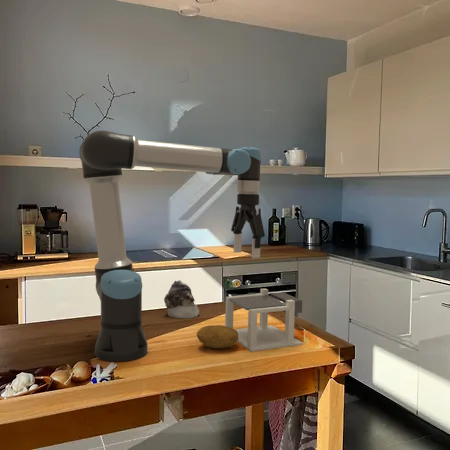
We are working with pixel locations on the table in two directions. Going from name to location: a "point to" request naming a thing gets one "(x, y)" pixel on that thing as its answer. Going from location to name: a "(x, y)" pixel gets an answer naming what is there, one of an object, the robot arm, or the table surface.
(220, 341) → the potato
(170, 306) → the stone
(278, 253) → the table surface
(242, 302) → the flap
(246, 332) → the frame
